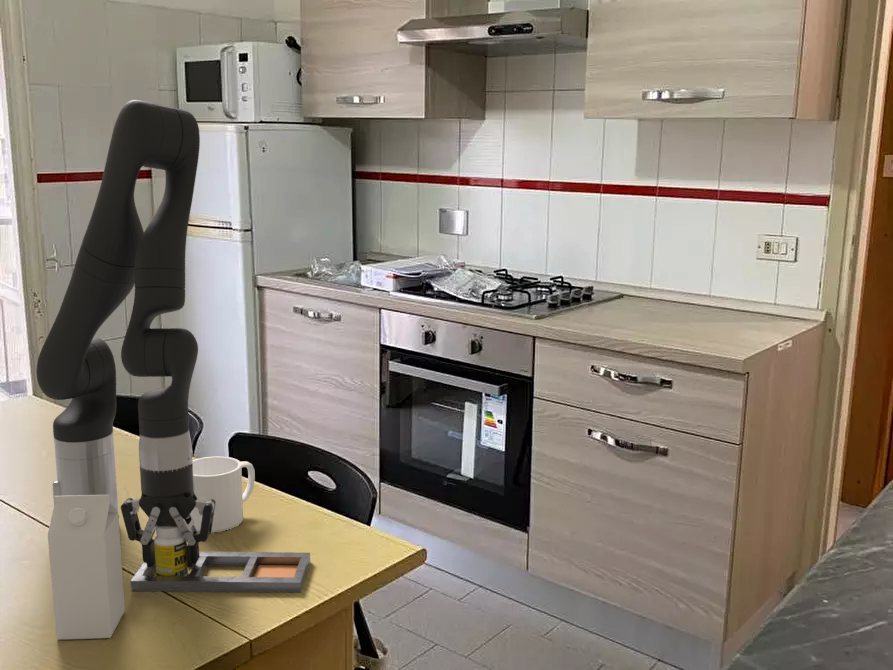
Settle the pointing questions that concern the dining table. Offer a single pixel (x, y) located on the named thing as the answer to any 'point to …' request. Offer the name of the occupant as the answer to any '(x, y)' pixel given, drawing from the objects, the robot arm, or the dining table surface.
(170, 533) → the supplement bottle
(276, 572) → the marked hole pad
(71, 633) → the milk carton
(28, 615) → the dining table surface
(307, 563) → the grey flat rectangular frame
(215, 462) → the mug
